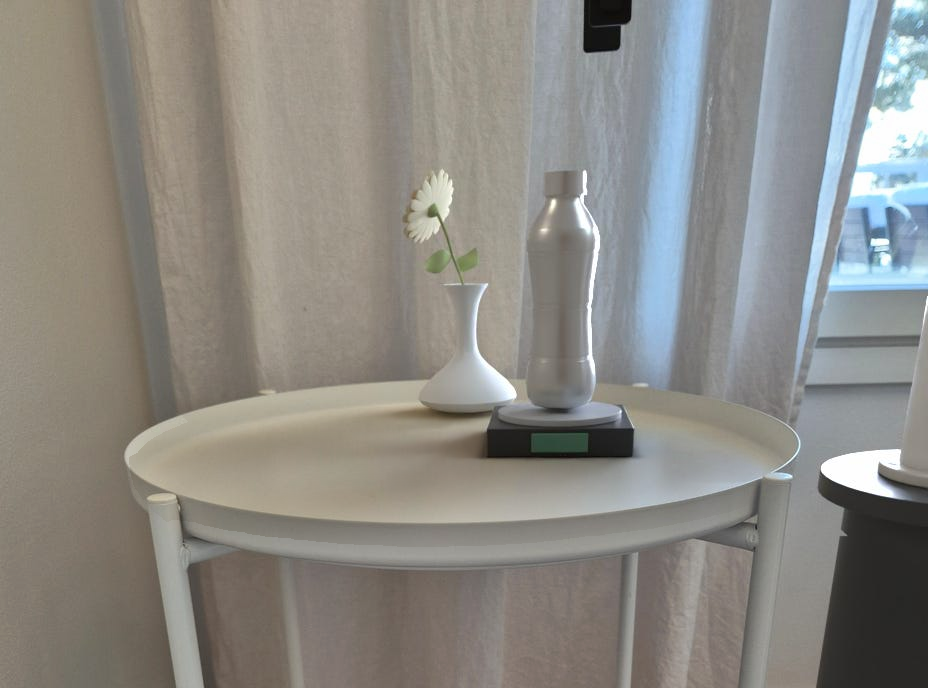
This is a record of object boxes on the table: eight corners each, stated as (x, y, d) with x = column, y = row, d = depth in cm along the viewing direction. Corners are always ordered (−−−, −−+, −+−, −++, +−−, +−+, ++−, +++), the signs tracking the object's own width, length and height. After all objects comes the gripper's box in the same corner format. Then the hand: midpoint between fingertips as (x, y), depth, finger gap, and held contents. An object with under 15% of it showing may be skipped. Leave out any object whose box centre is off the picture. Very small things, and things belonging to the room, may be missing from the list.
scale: (622, 429, 91) (623, 398, 90) (633, 457, 78) (635, 422, 77) (495, 430, 92) (495, 399, 91) (486, 458, 80) (486, 423, 79)
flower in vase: (476, 400, 111) (472, 175, 101) (536, 410, 102) (540, 166, 92) (388, 413, 104) (375, 172, 94) (445, 425, 95) (438, 162, 85)
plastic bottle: (556, 418, 80) (562, 168, 72) (510, 409, 85) (511, 174, 77) (609, 410, 83) (620, 169, 75) (562, 401, 88) (567, 176, 80)
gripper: (680, -303, 58) (665, 9, 65) (649, -185, 74) (640, 57, 81) (564, -291, 59) (562, 17, 66) (558, -176, 75) (557, 63, 81)
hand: (605, 39), depth 73 cm, fingers open, 9 cm apart
